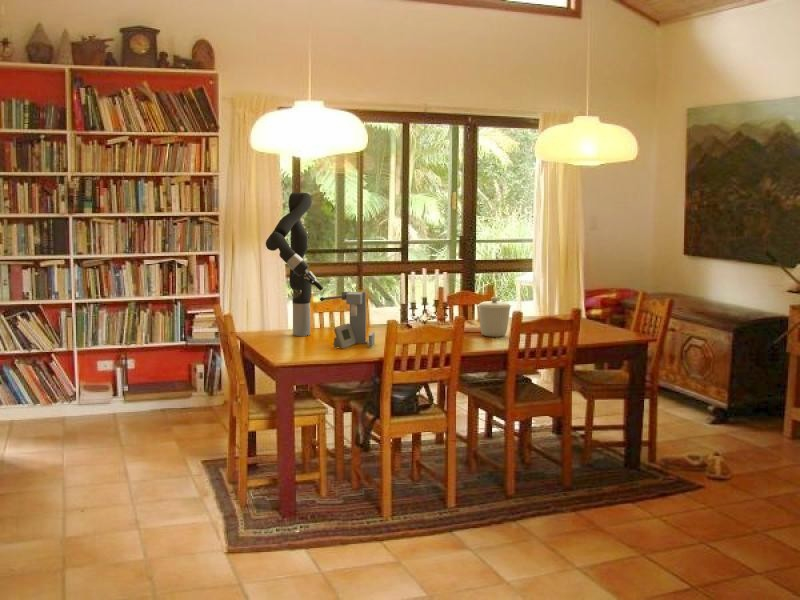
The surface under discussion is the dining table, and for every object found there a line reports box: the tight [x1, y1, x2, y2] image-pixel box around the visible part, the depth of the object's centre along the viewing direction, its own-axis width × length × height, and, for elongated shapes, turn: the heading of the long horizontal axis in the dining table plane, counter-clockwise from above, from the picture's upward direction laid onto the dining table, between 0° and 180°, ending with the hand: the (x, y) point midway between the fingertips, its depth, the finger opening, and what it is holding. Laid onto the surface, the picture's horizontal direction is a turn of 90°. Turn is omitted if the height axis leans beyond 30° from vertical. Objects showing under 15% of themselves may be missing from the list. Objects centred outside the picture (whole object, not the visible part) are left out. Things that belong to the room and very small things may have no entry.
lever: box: [319, 294, 346, 302], centre depth 434 cm, size 2×14×2 cm, turn 85°
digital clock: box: [333, 323, 356, 350], centre depth 428 cm, size 16×9×11 cm, turn 149°
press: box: [341, 291, 376, 348], centre depth 431 cm, size 14×17×26 cm
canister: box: [477, 296, 512, 338], centre depth 463 cm, size 18×18×21 cm
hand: (322, 289), depth 434 cm, fingers closed
